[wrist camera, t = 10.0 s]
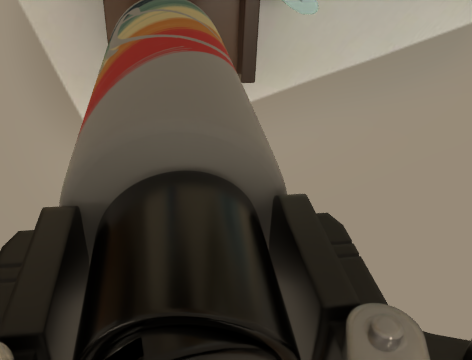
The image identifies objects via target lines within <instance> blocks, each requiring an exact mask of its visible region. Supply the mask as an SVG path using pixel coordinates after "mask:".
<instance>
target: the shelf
mask: <svg viewBox="0 0 472 360" xmlns="http://www.w3.org/2000/svg"><path fill="white" fill-rule="evenodd" d="M138 1H140V0H103V3H104V12H105V21H106V30H107V39H108V44H109V41H110V38H111V35H112V32H113V30H114V28H115V26H116V24H117V22H118V20H119V19H120V17H121V16H122V15H123V14H124V13H125V11H126V10H127V9H129V8H130V7H131V6H132V5H134V4H135V3H137V2H138ZM188 1H190V2H191V3H193V4H195V5H196V6H198V7H199V8H200V9H201V10H202V11H203V12H204V13H205V14H206V15H207V16H208V17H209V18H210V20H211V21H212V23H213V24H214V26H215V27H216V29H217V31H218V33H219V35H220V37H221V39H222V42H223V44H224V46H225V48H226V50H227V52H228V55H229V57H230V59H231V61H232V63H233V66H234V68H235V70H236V72H237V74H238V77H239V79H240V81H241V83H254V82H255V71H256V55H257V39H258V24H259V8H260V0H188Z"/></svg>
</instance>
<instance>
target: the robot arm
mask: <svg viewBox="0 0 472 360" xmlns="http://www.w3.org/2000/svg"><path fill="white" fill-rule="evenodd" d="M269 253H270V257H271V260H272V263H273V267H274V270H275V273H276V277H277V280H278V283H279V287H280V290H281V293H282V297H283V300H284V303H285V306H286V310H287V313H288V316H289V320H290V323H291V326H292V330H293V333H294V336H295V340H296V343H297V347H298V350H299V354H300V358H301V360H472V340H471V341H468V340H462V339H457V338H451V337H446V336H440V335H435V334H430V333H427V332H424V331H422V330H421V328H420V327H419V325H418V324H417V323H416V322H415V321H414V320H413V319H412V318H411V317H410V316H409V315H407V314H406V313H404V312H403V311H401V310H399V309H397V308H395V307H392V306H389V305H388V304H387V302H386V300H385V298H384V297H383V295H382V293H381V291H380V290H379V288H378V286H377V284H376V283H375V281H374V279H373V277H372V275H371V274H370V272H369V270H368V268H367V267H366V265H365V263H364V261H363V260H362V258H361V257H360V256H359V253H358V251H357V249H356V247H355V246H354V244H352V240H351V238H350V237H349V235H348V233H347V231H346V229H345V228H344V226H343V225H342V224H341V223H340V222H338V221H337V220H336V219H335V218H333V217H332V216H331V215H330V214H328V213H317V214H316V213H315V211H314V209H313V207H312V205H311V203H310V201H309V199H308V197H307V195H306V194H293V195H275V196H274V199H273V205H272V215H271V225H270V235H269ZM89 268H90V264H89V255H88V250H87V245H86V240H85V235H84V229H83V223H82V217H81V212H80V208H79V207H78V206H61V207H45V208H43V209H42V210H41V213H40V216H39V218H38V221H37V224H36V227H35V230H29V231H18V232H17V233H16V234H15V235H14V236H13V237H12V238H11V239H10V240H9V241H8V242H7V243H6V244H5V245H4V246H3V247H2V249H1V251H0V360H72V359H73V353H74V348H75V343H76V337H77V332H78V327H79V321H80V316H81V310H82V305H83V300H84V294H85V289H86V284H87V278H88V273H89Z"/></svg>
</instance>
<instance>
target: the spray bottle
mask: <svg viewBox="0 0 472 360" xmlns="http://www.w3.org/2000/svg"><path fill="white" fill-rule="evenodd" d="M275 195H287V192H286V187H285V183H284V180H283V177H282V174H281V172H280V169H279V166H278V164H277V161H276V159H275V156H274V154H273V152H272V150H271V147H270V145H269V143H268V141H267V138H266V136H265V134H264V132H263V129H262V127H261V125H260V123H259V121H258V118H257V116H256V114H255V112H254V110H253V107H252V105H251V103H250V101H249V99H248V96H247V94H246V92H245V90H244V88H243V85H242V83H241V81H240V79H239V77H238V74H237V72H236V70H235V68H234V66H233V63H232V61H231V59H230V57H229V55H228V52H227V50H226V48H225V46H224V44H223V42H222V39H221V37H220V35H219V33H218V31H217V29H216V27H215V26H214V24H213V23H212V21H211V20H210V18H209V17H208V16H207V15H206V14H205V13H204V12H203V11H202V10H201V9H200V8H199V7H198V6H196V5H195V4H193V3H191V2H190V1H188V0H140V1H138V2H137V3H135V4H134V5H132V6H131V7H130V8H129V9H127V10H126V11H125V13H124V14H123V15H122V16H121V17H120V19H119V20H118V22H117V24H116V26H115V28H114V30H113V32H112V35H111V38H110V41H109V44H108V47H107V50H106V53H105V56H104V59H103V62H102V65H101V68H100V71H99V74H98V77H97V80H96V83H95V86H94V89H93V92H92V96H91V99H90V102H89V105H88V108H87V111H86V114H85V117H84V120H83V123H82V126H81V129H80V132H79V135H78V138H77V142H76V144H75V147H74V151H73V154H72V157H71V160H70V163H69V167H68V170H67V173H66V177H65V180H64V184H63V187H62V192H61V197H60V205H59V207H61V206H78V207H79V208H80V212H81V217H82V223H83V229H84V235H85V240H86V245H87V250H88V255H89V264H90V268H89V273H88V278H87V284H86V289H85V294H84V300H83V305H82V310H81V316H80V321H79V327H78V332H77V337H76V343H75V348H74V353H73V359H72V360H301V358H300V354H299V350H298V347H297V343H296V340H295V336H294V333H293V330H292V326H291V323H290V320H289V316H288V313H287V310H286V306H285V303H284V300H283V297H282V293H281V290H280V287H279V283H278V280H277V277H276V273H275V270H274V267H273V263H272V260H271V257H270V253H269V235H270V225H271V215H272V205H273V199H274V196H275Z"/></svg>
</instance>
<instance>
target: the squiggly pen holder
mask: <svg viewBox="0 0 472 360" xmlns="http://www.w3.org/2000/svg"><path fill="white" fill-rule="evenodd" d="M282 1H283V2H284V3H286V4H287V5H288V6H289V7H290V8H292V9H293V10H295V11H297V12H299V13H301V14H315V13H316V12H317V11H318V2H317V1H316V0H282Z"/></svg>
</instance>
